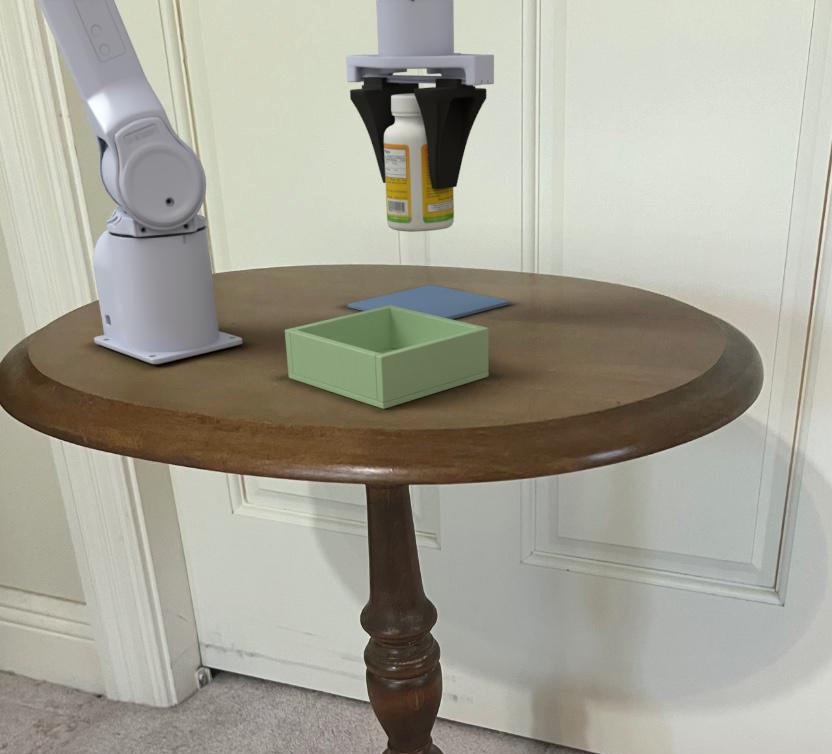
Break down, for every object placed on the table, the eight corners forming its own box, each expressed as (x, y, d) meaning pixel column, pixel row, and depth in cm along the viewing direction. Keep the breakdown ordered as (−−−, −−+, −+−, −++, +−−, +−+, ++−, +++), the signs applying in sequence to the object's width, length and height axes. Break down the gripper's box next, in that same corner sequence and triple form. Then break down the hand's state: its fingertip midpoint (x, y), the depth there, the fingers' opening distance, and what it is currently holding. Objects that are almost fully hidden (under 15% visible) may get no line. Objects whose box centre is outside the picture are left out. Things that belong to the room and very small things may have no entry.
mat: (347, 307, 95) (347, 303, 94) (430, 288, 100) (430, 284, 100) (425, 326, 88) (425, 322, 88) (509, 304, 94) (509, 300, 94)
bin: (288, 378, 76) (284, 329, 75) (391, 350, 82) (390, 304, 80) (383, 409, 69) (381, 357, 68) (488, 376, 75) (489, 327, 74)
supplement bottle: (456, 220, 89) (454, 91, 85) (451, 232, 85) (449, 95, 80) (391, 221, 90) (386, 93, 86) (383, 233, 85) (377, 97, 81)
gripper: (524, -17, 77) (521, 186, 83) (391, -9, 87) (397, 172, 93) (452, -16, 73) (455, 197, 79) (321, -8, 82) (332, 181, 89)
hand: (419, 184), depth 86 cm, fingers closed on supplement bottle, 5 cm apart
